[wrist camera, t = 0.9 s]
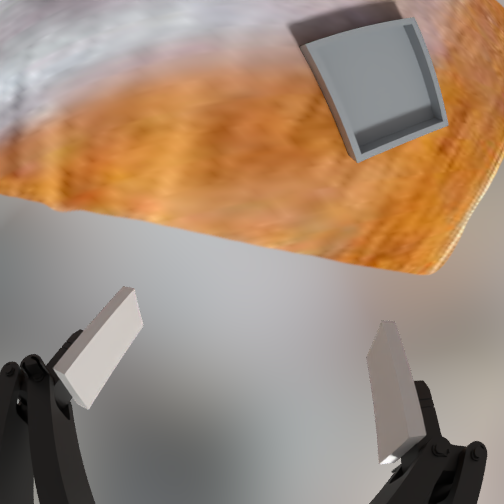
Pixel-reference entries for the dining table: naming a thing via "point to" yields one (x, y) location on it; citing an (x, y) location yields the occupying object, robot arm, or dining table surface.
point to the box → (378, 85)
